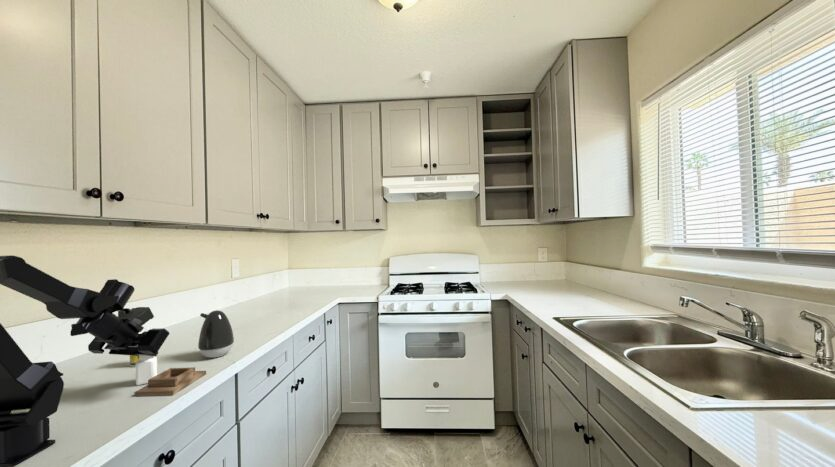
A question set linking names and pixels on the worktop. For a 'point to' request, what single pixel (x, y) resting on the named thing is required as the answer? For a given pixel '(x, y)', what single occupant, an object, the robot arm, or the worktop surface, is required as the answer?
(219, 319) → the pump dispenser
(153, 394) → the stand
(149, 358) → the pepper shaker
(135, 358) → the supplement bottle
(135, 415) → the worktop surface
